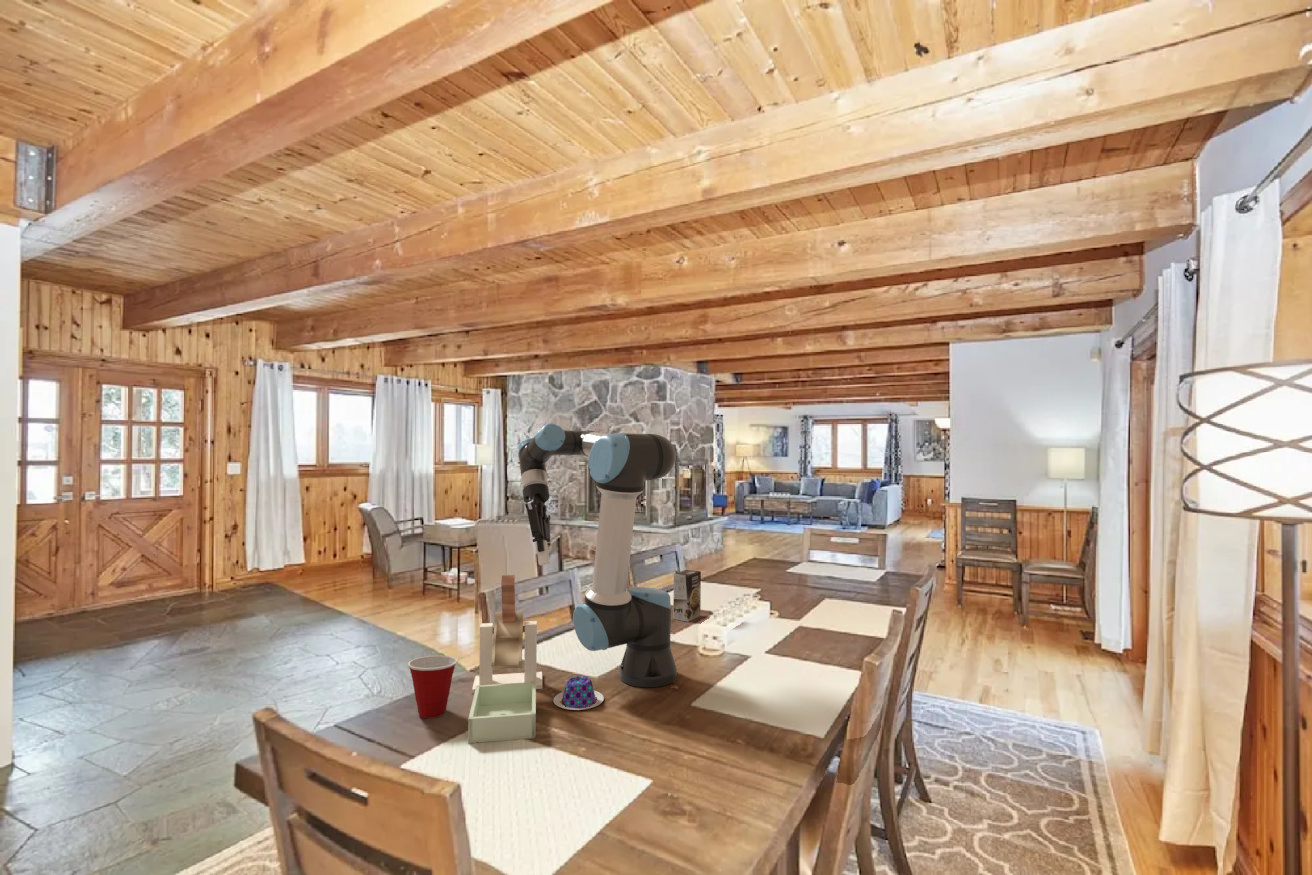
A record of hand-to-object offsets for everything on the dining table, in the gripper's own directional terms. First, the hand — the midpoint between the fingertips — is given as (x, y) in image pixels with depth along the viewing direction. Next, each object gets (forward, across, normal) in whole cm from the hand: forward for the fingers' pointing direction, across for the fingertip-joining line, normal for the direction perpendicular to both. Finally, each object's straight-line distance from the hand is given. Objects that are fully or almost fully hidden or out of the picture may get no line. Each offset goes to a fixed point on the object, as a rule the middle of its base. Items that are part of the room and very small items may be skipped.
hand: (544, 563), depth 171 cm
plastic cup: (+35, +18, -24) cm, 46 cm away
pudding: (+38, +4, +6) cm, 39 cm away
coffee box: (+9, -64, +26) cm, 70 cm away
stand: (+29, +1, -13) cm, 32 cm away
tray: (+40, +18, -7) cm, 44 cm away
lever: (+20, +9, -8) cm, 24 cm away
